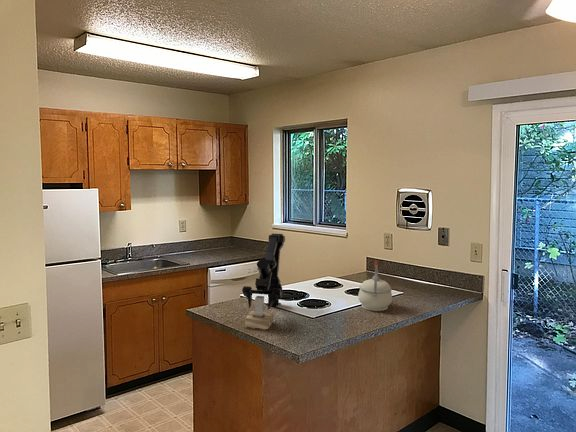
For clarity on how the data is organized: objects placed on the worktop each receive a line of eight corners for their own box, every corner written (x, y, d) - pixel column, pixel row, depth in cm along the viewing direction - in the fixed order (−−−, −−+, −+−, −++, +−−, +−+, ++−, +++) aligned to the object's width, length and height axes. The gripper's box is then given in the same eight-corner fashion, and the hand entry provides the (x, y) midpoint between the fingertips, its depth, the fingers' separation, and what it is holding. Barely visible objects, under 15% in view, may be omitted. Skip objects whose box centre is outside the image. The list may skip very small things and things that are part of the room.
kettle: (392, 314, 245) (394, 267, 242) (356, 311, 249) (358, 265, 246) (391, 301, 269) (393, 258, 267) (359, 298, 273) (360, 256, 270)
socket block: (251, 320, 231) (251, 311, 230) (272, 322, 229) (273, 313, 228) (245, 327, 220) (245, 318, 220) (267, 329, 218) (268, 320, 218)
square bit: (256, 322, 226) (256, 295, 225) (263, 322, 226) (264, 296, 224) (254, 324, 223) (255, 297, 222) (262, 325, 222) (262, 298, 221)
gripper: (243, 269, 227) (236, 298, 218) (281, 272, 224) (276, 301, 214) (247, 281, 236) (241, 309, 226) (283, 284, 233) (279, 312, 223)
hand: (258, 308), depth 222 cm, fingers open, 9 cm apart
